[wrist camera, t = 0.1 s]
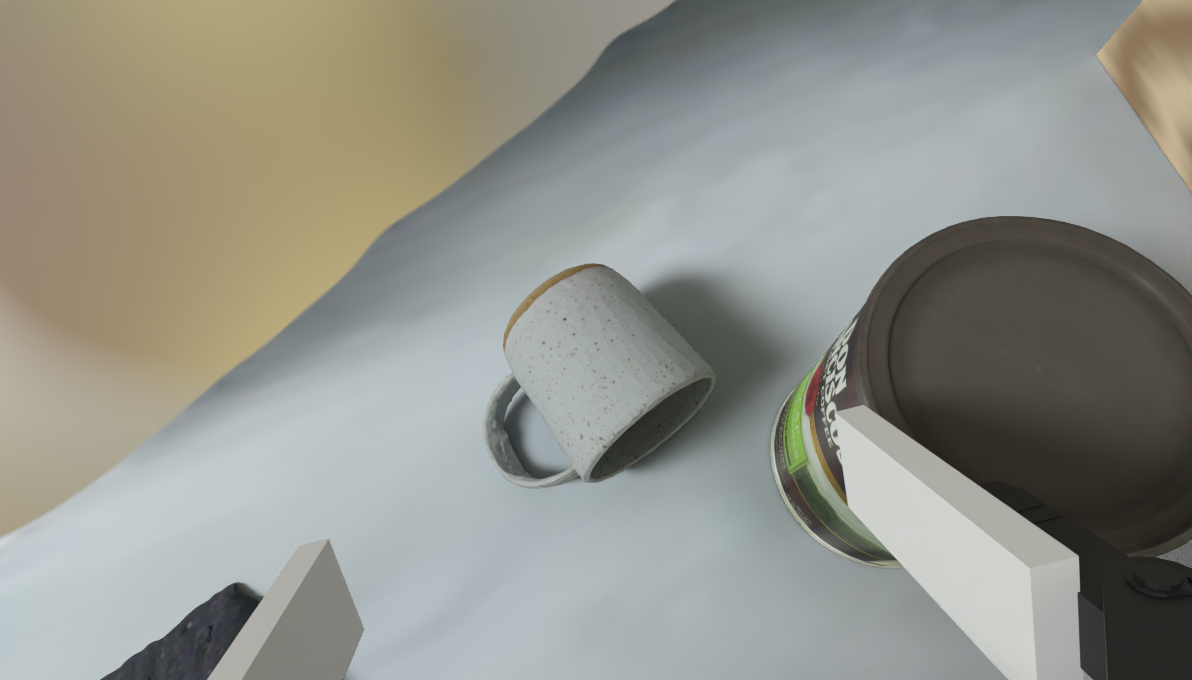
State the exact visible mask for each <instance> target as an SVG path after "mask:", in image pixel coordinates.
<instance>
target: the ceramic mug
mask: <svg viewBox="0 0 1192 680" xmlns="http://www.w3.org/2000/svg"><path fill="white" fill-rule="evenodd" d="M503 348H504V352H505V356H506V359H507V361H508V363H509V366H510V368H511V370H512V374H510V375H509V376H507V377H506V378H505V379H504V380H503V381H502V382H501V383H500V384H499V386H498V388H497V389H496V390H495V391H494V393H493V394H492V396H491V398H490V401H489V403H488V404H487V407H486V410H485V416H484V439H485V444H486V446H487V450H488V453H489V455H490V457H491V459H492V461H493V463H494V465H495V466H496V468H497V469H498V470H499V472H500V473H501V474H502V475H503V476H504V478H506V479H507V480H508V481H510V482H512V483H513V484H515V485H517V486H521V487H526V488H535V489H538V488H546V487H551V486H557V485H560V484H563V483H565V482H568V481H570V480H572V479H574V478H576V477H578V476H580V477H581V478H582V480H583V481H585V482H588V483H595V482H600V481H603V480H605V479H607V478H610V477H613V476H614V475H616V474H618V473H620V472H622V471H624V470H625V469H627V468H629V467H631V466H632V465H633V464H634V463H636V462H637V461H639V460H640V459H641V458H643V457H645V456H646V455H648V454H650V453H651V452H652V451H654V450H655V449H656V448H657V447H659V446H660V445H661V444H662V443H663V442H665V441H666V440H667V439H669V438H670V437H671V436H672V435H673V434H674V433H676V432H677V431H678V430H679V429H680V428H681V427H682V426H683V425H684V424H685V423H686V422H687V421H688V420H690V419H691V418H692V417H693V415H694V414H695V413H696V412H697V411H698V410H699V409H700V408H701V407H702V406H703V404H704V403H705V401H706V400H707V399H708V397H709V396H710V394H711V392H712V391H713V389H714V386H715V384H716V379H717V377H716V374H715V372H714V370H713V369H712V368H711V367H710V365H709V364H708V363H707V362H706V361H705V360H704V359H703V358H702V357H701V356H700V355H699V354H698V353H697V352H696V351H695V350H694V349H693V348H692V347H691V346H690V345H689V344H688V343H687V341H686V340H685V339H684V338H683V337H682V336H681V335H680V334H679V333H678V332H677V331H676V330H675V328H674V327H673V326H671V325H670V323H669V322H668V321H667V320H666V319H665V318H664V317H663V316H662V315H661V314H660V313H659V312H658V311H657V310H656V309H655V308H654V307H653V306H652V305H651V304H650V303H649V301H648V300H647V299H646V298H645V297H644V296H643V295H642V294H641V293H640V292H639V291H638V290H637V289H636V288H635V287H634V286H633V285H632V284H631V283H630V282H629V281H628V280H627V279H625V278H624V277H623V276H621V275H620V274H619V273H617V272H616V271H615V270H613V269H612V268H609V267H607V266H605V265H602V264H584V265H580V266H577V267H573V268H569V269H566V270H564V271H562V272H560V273H559V274H557V275H555V276H553V277H551V278H550V279H548V280H547V281H545V282H544V283H543V284H541V285H540V286H539V287H538V288H536V289H535V290H534V291H533V292H532V293H531V294H530V295H529V296H528V297H527V298H526V299H525V300H524V301H523V302H522V303H521V304H520V306H519V307H518V308H517V309H516V311H515V312H514V314H513V315H512V317H511V319H510V321H509V323H508V326H507V328H506V331H505V333H504V342H503ZM520 387H522V389H523V390H524V392H525V393H526V394H527V396H528V397H529V399H530V400H531V401H532V403H533V404H534V406H535V407H536V409H537V410H538V412H539V413H540V415H541V416H542V418H543V420H544V421H545V423H546V424H547V426H548V428H549V429H550V431H551V433H552V434H553V436H554V437H555V439H556V440H557V442H558V443H559V445H560V446H561V448H562V449H563V451H564V452H565V454H566V456H567V457H568V459H569V460H570V462H571V465H570V466H569V468H568V469H567V470H565V471H563V472H562V473H559V474H556V475H553V476H550V477H547V478H544V479H538V478H535V477H532V476H531V475H530V474H529V473H528V472H526V471H525V470H524V468H523V467H522V465H521V463H520V462H519V460H518V458H517V456H516V454H515V452H514V451H513V449H512V447H511V444H510V442H509V434H508V433H507V432H506V431H505V430H504V418H505V413H506V409H507V407H508V405H509V403H510V402H511V401H512V398H513V396H514V395H515V394H516V392H517V391H518V390H519V388H520Z"/></svg>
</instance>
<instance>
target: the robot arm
mask: <svg viewBox="0 0 1192 680" xmlns="http://www.w3.org/2000/svg"><path fill="white" fill-rule="evenodd" d="M835 419H836V426H837V433H838V440H839V446H840V453H841V460H842V467H843V474H844V481H845V488H846V495H847V502H848V507H849V508H850V509H851V511H852V512H853V513H854V514H855V515H856V516H857V517H858V518H859V519H860V520H861V521H862V522H863V523H864V525H865V526H866V527H867V528H868V529H869V530H870V531H871V532H872V533H873V534H874V535H875V536H876V538H877V539H878V540H879V541H880V542H881V543H882V544H883V545H884V546H885V547H886V548H887V549H888V550H889V552H890V553H891V554H892V555H893V556H894V557H895V558H896V559H897V560H898V561H899V562H900V563H901V564H902V566H903V567H904V568H905V569H906V570H907V571H908V572H909V573H910V574H911V575H912V576H913V577H914V579H915V580H916V581H917V582H918V583H919V584H920V585H921V586H922V587H923V588H924V589H925V590H926V591H927V593H928V594H929V595H930V596H931V597H932V598H933V599H934V600H935V601H936V602H937V603H938V604H939V606H940V607H941V608H942V609H943V610H944V611H945V612H946V613H947V614H948V615H949V616H950V617H951V618H952V620H953V621H954V622H955V623H956V624H957V625H958V626H959V627H960V628H961V629H962V630H963V631H964V632H965V634H966V635H967V636H968V637H969V638H970V639H971V640H972V641H973V642H974V643H975V644H976V645H977V647H978V648H979V649H980V650H981V651H982V652H983V653H984V654H985V655H986V656H987V657H988V658H989V659H990V661H991V662H992V663H993V664H994V665H995V666H996V667H997V668H998V669H999V670H1000V671H1001V672H1002V674H1003V675H1004V676H1005V677H1006V678H1007V679H1008V680H1084V677H1083V670H1084V671H1085V672H1086V673H1087V674H1088V675H1089V676H1090V677H1091V678H1092V679H1093V680H1192V569H1191V568H1189V567H1186V566H1184V565H1182V564H1179V563H1177V562H1173V561H1169V560H1164V559H1160V558H1156V557H1142V556H1131V557H1129V556H1127V555H1126V554H1124V553H1122V552H1121V551H1119V550H1118V549H1116V548H1115V547H1113V546H1112V545H1110V544H1108V543H1107V542H1105V541H1104V540H1102V539H1101V538H1099V537H1098V536H1096V535H1094V534H1093V533H1091V532H1090V531H1088V530H1087V529H1085V528H1084V527H1082V526H1080V525H1079V524H1077V523H1076V522H1074V521H1073V520H1071V519H1070V518H1067V519H1066V518H1065V516H1064V515H1063V514H1062V513H1060V512H1059V511H1057V510H1056V509H1054V508H1052V507H1048V506H1047V504H1046V503H1045V502H1043V501H1042V500H1040V499H1038V498H1037V497H1035V496H1034V495H1032V494H1031V493H1029V492H1028V491H1026V490H1024V489H1021V488H1018V487H1015V486H1012V485H1009V484H1006V483H1003V482H1000V481H997V480H996V481H993V482H989V483H985V484H981V485H977V484H976V483H974V482H973V481H971V480H970V479H969V478H967V477H966V476H964V475H963V474H961V473H960V472H959V471H957V470H956V469H954V468H953V467H951V466H950V465H949V464H947V463H946V462H944V461H943V460H941V459H940V458H939V457H937V456H936V455H934V454H933V453H932V452H930V451H929V450H927V449H926V448H924V447H923V446H922V445H920V444H919V443H917V442H916V441H914V440H913V439H912V438H910V437H909V436H907V435H906V434H904V433H903V432H902V431H900V430H899V429H897V428H896V427H895V426H893V425H892V424H890V423H889V422H887V421H886V420H885V419H883V418H882V417H880V416H879V415H877V414H876V413H875V412H873V411H872V410H870V409H869V408H867V407H866V406H865V405H861V406H857V407H853V408H849V409H845V410H841V411H837V412H835ZM363 631H364V628H363V625H362V623H361V620H360V617H359V615H358V612H357V610H356V607H355V605H354V602H353V600H352V597H351V595H350V592H349V589H348V587H347V584H346V582H345V579H344V577H343V574H342V572H341V569H340V566H339V564H338V561H337V559H336V556H335V554H334V551H333V549H332V546H331V544H330V541H329V539H326V540H322V541H318V542H314V543H310V544H306V545H302V546H299V547H298V548H297V550H296V551H295V552H294V554H293V555H292V557H291V558H290V560H289V561H288V563H287V564H286V566H285V567H284V568H283V570H282V571H281V573H280V574H279V576H278V577H277V579H276V580H275V582H274V583H273V584H272V586H271V587H270V589H269V590H268V592H267V593H266V595H265V596H264V598H263V599H262V600H261V602H260V603H259V605H258V606H257V608H256V609H255V611H254V612H253V614H252V615H251V616H250V618H249V619H248V621H247V622H246V624H245V625H244V627H243V628H242V630H241V631H240V632H239V634H238V635H237V637H236V638H235V640H234V641H233V643H232V644H231V645H230V647H229V648H228V650H227V651H226V653H225V654H224V656H223V657H222V659H221V660H220V661H219V663H218V664H217V666H216V667H215V669H214V670H213V672H212V673H211V675H210V676H209V677H208V679H207V680H343V679H344V677H345V675H346V672H347V670H348V667H349V665H350V662H351V660H352V658H353V655H354V653H355V650H356V648H357V646H358V643H359V641H360V638H361V636H362V633H363Z"/></svg>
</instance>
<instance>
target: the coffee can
mask: <svg viewBox="0 0 1192 680" xmlns="http://www.w3.org/2000/svg"><path fill="white" fill-rule="evenodd" d="M861 405H865V406H866V407H867V408H869V409H870V410H872V411H873V412H875V413H876V414H877V415H879V416H880V417H882V418H883V419H885V420H886V421H887V422H889V423H890V424H892V425H893V426H895V427H896V428H897V429H899V430H900V431H902V432H903V433H904V434H906V435H907V436H909V437H910V438H912V439H913V440H914V441H916V442H917V443H919V444H920V445H922V446H923V447H924V448H926V449H927V450H929V451H930V452H932V453H933V454H934V455H936V456H937V457H939V458H940V459H941V460H943V461H944V462H946V463H947V464H949V465H950V466H951V467H953V468H954V469H956V470H957V471H959V472H960V473H961V474H963V475H964V476H966V477H967V478H969V479H970V480H971V481H973V482H974V483H976V484H977V485H981V484H985V483H989V482H993V481H996V480H997V481H1000V482H1003V483H1006V484H1009V485H1012V486H1015V487H1018V488H1021V489H1024V490H1026V491H1028V492H1029V493H1031V494H1032V495H1034V496H1035V497H1037V498H1038V499H1040V500H1042V501H1043V502H1045V503H1046V504H1047V506H1048V507H1052V508H1054V509H1056V510H1057V511H1059V512H1060V513H1062V514H1063V515H1064V516H1065V518H1066V519H1067V518H1070V519H1071V520H1073V521H1074V522H1076V523H1077V524H1079V525H1080V526H1082V527H1084V528H1085V529H1087V530H1088V531H1090V532H1091V533H1093V534H1094V535H1096V536H1098V537H1099V538H1101V539H1102V540H1104V541H1105V542H1107V543H1108V544H1110V545H1112V546H1113V547H1115V548H1116V549H1118V550H1119V551H1121V552H1122V553H1124V554H1126V555H1127V556H1129V557H1131V556H1142V557H1156V556H1159V555H1163V554H1165V553H1168V552H1170V551H1172V550H1174V549H1176V548H1178V547H1180V546H1182V545H1184V544H1186V543H1187V542H1188V541H1190V540H1191V539H1192V295H1191V294H1190V293H1189V292H1188V291H1187V290H1186V289H1185V288H1184V287H1183V286H1182V285H1181V284H1180V283H1179V282H1178V281H1177V280H1175V279H1174V278H1173V277H1172V276H1170V275H1169V274H1168V273H1167V272H1165V271H1164V270H1163V269H1161V268H1160V267H1158V266H1157V265H1156V264H1155V263H1153V262H1152V261H1150V260H1149V259H1147V258H1146V257H1144V256H1143V255H1141V254H1140V253H1138V252H1136V251H1135V250H1133V249H1132V248H1130V247H1128V246H1127V245H1125V244H1123V243H1120V242H1118V241H1116V240H1114V239H1112V238H1110V237H1108V236H1105V235H1103V234H1100V233H1098V232H1095V231H1092V230H1090V229H1087V228H1084V227H1081V226H1078V225H1074V224H1070V223H1066V222H1061V221H1056V220H1050V219H1043V218H1035V217H1022V216H998V217H986V218H980V219H975V220H970V221H965V222H961V223H958V224H955V225H952V226H949V227H947V228H944V229H942V230H940V231H937V232H935V233H933V234H931V235H929V236H928V237H926V238H924V239H923V240H921V241H919V242H918V243H916V244H915V245H913V246H912V247H910V248H909V249H908V250H906V251H905V252H904V253H903V254H902V255H901V256H900V257H898V258H897V259H896V260H895V261H894V262H893V263H892V264H891V265H890V267H889V268H888V269H887V270H886V271H885V272H884V274H883V275H882V276H881V278H880V279H879V281H878V282H877V284H876V285H875V286H874V288H873V289H872V291H871V293H870V295H869V297H868V299H867V301H866V303H865V304H864V306H863V307H862V308H861V310H860V311H859V312H858V313H857V315H856V316H855V317H854V318H853V319H852V320H851V321H850V323H849V324H848V325H847V326H846V328H845V329H844V330H843V332H842V333H841V334H840V335H839V337H838V338H837V339H836V341H835V342H834V343H833V344H832V346H831V347H830V348H829V349H828V350H827V352H826V353H825V354H824V355H823V357H822V358H821V359H820V360H819V361H818V363H817V364H816V365H815V366H814V368H813V369H812V370H811V371H810V372H809V373H808V374H807V375H806V376H805V378H804V379H803V380H802V381H801V382H800V383H799V384H798V385H797V386H796V387H795V388H794V389H793V390H792V391H791V392H790V394H789V395H788V396H787V398H786V399H785V401H784V402H783V404H782V406H781V407H780V410H779V412H778V414H777V417H776V420H775V423H774V426H773V429H772V434H771V446H770V452H771V464H772V469H773V474H774V478H775V481H776V484H777V487H778V489H779V492H780V494H781V496H782V498H783V500H784V502H785V504H786V506H787V507H788V509H789V511H790V512H791V514H792V515H793V517H794V518H795V519H796V520H797V521H798V523H799V524H800V525H801V526H802V527H803V528H804V529H805V530H806V531H807V532H808V533H809V534H810V535H811V536H812V537H813V538H814V539H816V540H817V541H818V542H819V543H821V544H822V545H824V546H825V547H826V548H828V549H830V550H831V551H833V552H835V553H837V554H839V555H841V556H843V557H845V558H847V559H850V560H852V561H855V562H858V563H860V564H863V565H868V566H872V567H880V568H904V567H903V566H902V564H901V563H900V562H899V561H898V560H897V559H896V558H895V557H894V556H893V555H892V554H891V553H890V552H889V550H888V549H887V548H886V547H885V546H884V545H883V544H882V543H881V542H880V541H879V540H878V539H877V538H876V536H875V535H874V534H873V533H872V532H871V531H870V530H869V529H868V528H867V527H866V526H865V525H864V523H863V522H862V521H861V520H860V519H859V518H858V517H857V516H856V515H855V514H854V513H853V512H852V511H851V509H850V508H849V507H848V502H847V495H846V488H845V481H844V474H843V467H842V460H841V453H840V446H839V440H838V433H837V426H836V419H835V412H837V411H841V410H845V409H849V408H853V407H857V406H861Z"/></svg>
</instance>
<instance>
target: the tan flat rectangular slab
mask: <svg viewBox="0 0 1192 680" xmlns="http://www.w3.org/2000/svg"><path fill="white" fill-rule="evenodd" d="M1096 56H1097V58H1098V59H1099V60H1100V62H1101V63H1102V65H1103V66H1104V68H1105V69H1106V70H1107V72H1108V73H1109V75H1110V76H1111V78H1112V79H1113V80H1114V82H1115V83H1116V85H1117V86H1118V88H1119V89H1120V90H1121V92H1122V93H1123V95H1124V96H1125V98H1126V99H1127V100H1128V102H1129V103H1130V105H1131V106H1132V108H1133V109H1134V110H1135V112H1136V113H1137V115H1138V116H1139V118H1140V119H1141V120H1142V122H1143V123H1144V125H1145V126H1146V128H1147V129H1148V131H1149V132H1150V133H1151V135H1152V136H1153V138H1154V139H1155V141H1156V142H1157V143H1158V145H1159V146H1160V148H1161V149H1162V151H1163V152H1164V153H1165V155H1166V156H1167V158H1168V159H1169V161H1170V162H1171V163H1172V165H1173V166H1174V168H1175V169H1176V171H1177V172H1178V173H1179V175H1180V176H1181V178H1182V179H1183V181H1184V182H1185V183H1186V185H1187V186H1188V188H1189V189H1190V191H1191V192H1192V0H1143V1H1142V2H1141V3H1140V4H1139V6H1138V7H1137V8H1136V9H1135V10H1134V11H1133V13H1132V14H1131V15H1130V16H1129V17H1128V18H1127V20H1126V21H1125V22H1124V23H1123V24H1122V25H1121V27H1120V28H1119V29H1118V30H1117V31H1116V32H1115V33H1114V35H1113V36H1112V37H1111V38H1110V39H1109V40H1108V42H1107V43H1106V44H1105V45H1104V46H1103V47H1102V49H1101V50H1100V51H1099V52H1098V53H1097V54H1096Z"/></svg>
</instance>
